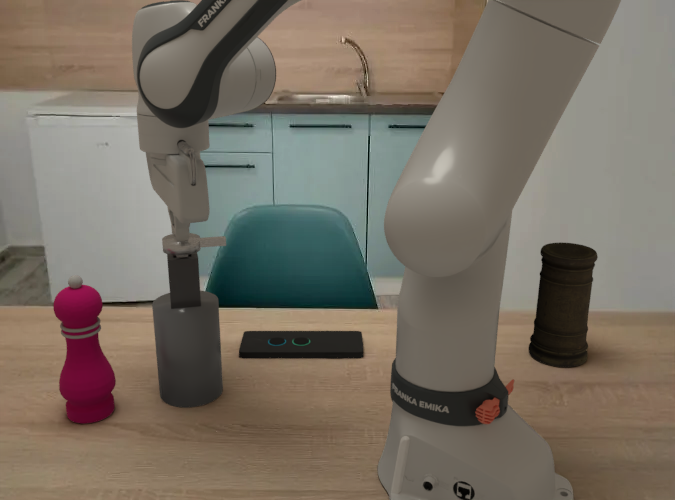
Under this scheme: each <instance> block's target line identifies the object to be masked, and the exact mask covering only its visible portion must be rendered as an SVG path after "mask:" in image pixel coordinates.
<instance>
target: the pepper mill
mask: <svg viewBox="0 0 675 500" xmlns="http://www.w3.org/2000/svg"><path fill="white" fill-rule="evenodd" d="M83 282H84V281H83V278H82V277H81V275H78V274H73V275H70V277H69V278H68V281H67V283H68V286H67V287H64V288H62V289H61V290H60V291H58V293H57V294H56V296H55V297H54V300H53V313H54V315H55V317H56V318H57V319H58V320H59V321H60V324H59V327H60V334H61V336H62V337H64V338H65V342H66V344H65V345H66V356H65V361H64V364H63V365H62V369H61V372H60V376H59V382H58V384H59V385H58V387H59V388H58V390H59V394H60V395H61V396H62V398H63V399H64V400H65V401H66V402H65V411H66V417H67V418H68V419H69V421H71V422H73V423H76V424H92V423H97V422H99V421H103V420H105V419H106V418H108V417H109V416H111V415H112V414H113V413H114V411H115V408H116V403H115V398H114V397H115V396H114V395H113V391H114V389H115V387H116V385H117V380H116V375H115V371H114V369H113V367H112V365H111V363H110V361H109V359H107V357H106V356H105V354H104V352H103V349H102V348H101V344H100V339H99V332H100V331H101V330H102V326H101V319H100V317H99V315H100V314H101V313H102V310H103V306H104V305H103V299H102V296H101V294H100V293H99V291H98V290H97V289H95V287H92V286H91V285H88V284H84V283H83Z"/></svg>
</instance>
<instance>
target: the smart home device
mask: <svg viewBox="0 0 675 500" xmlns="http://www.w3.org/2000/svg"><path fill="white" fill-rule="evenodd" d="M364 350H365V349H364V341H363V332H362V331H361V330H360V331H359V330H246V331H243V333H242V337H241V341H240V344H239V349H238V358H239V359H253V360H254V359H263V360H264V359H273V360H275V359H280V360H281V359H282V360H283V359H286V360H288V359H294V360H295V359H317V360H318V359H324V360H325V359H326V360H327V359H334V360H335V359H339V360H340V359H363V358H364Z"/></svg>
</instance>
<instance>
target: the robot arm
mask: <svg viewBox="0 0 675 500" xmlns="http://www.w3.org/2000/svg"><path fill="white" fill-rule="evenodd" d="M301 1H302V0H201V1H199V3H197V4H196V3H195V2H193V1H189V0H168V1H167V0H166V1H159V2H158V1H157V2H152V3H148V4H147V5H145V6H142V7H141V8H139V10H137V11H136V13H135V16H134V19H133V24H132V30H131V31H132V33H131V53H132V55H131V56H132V70H133V71H132V72H133V79H134V82H135V84H136V88H137V93H138V101H137V104H136V120H137V121H136V122H137V132H138V134H137V135H138V143H139V144H138V145H139V150H140V151H142V152H144V153H145V158H146V163H147V164H146V165H147V169H148V174H149V180H150V183H151V187H152V190H153V191H155V193H156V195H157V196H158V197H159V198H160V199H161V200H162V201H163V202H164V204H165V205H166V206H167V213H168V216H169V221H170V224H171V225H170V226H171V227H170V228H171V234H173V235H174V236H175V238H176V239H177V241H186V240H188V239H189V238H190V233H191V232H190V226H191V224H193V223H194V224H195V223H204V222H207V221H208V220H209V216H210V200H209V198H210V197H209V187H208V177H207V171H206V166H205V163H204V161H203V160H202V158H201V152H203V151H207V150H208V149H209V148H210V129H209V125H210V124H209V120H213V119H218V118H223V117H228V116H232V115H236V114H239V113H244V112H248V111H252V110H254V109H255V108H258V107H261V106H262V105H263V104H265V103H266V102H267V101H268V100H269V99H270V97H271V96H272V93H273V91H274V89H275V86H276V80H277V66H276V61H275V58H274V55H273V53H272V51H271V50H270V48H269V47H268V45H267V44H266V42H264V40H262V39H261V38H260V37H259V36H260V35H261V33H263V32H264V30H266V29H267V28H268V27H269V25H271V23H273V21H274V20H275V19H276V18H277V17H278V16H279V15H281V14H282V13H283V12H284V11H285V10H288V9H289V8H290V7H292V6H293V5H295V4H297V3H299V2H301ZM621 2H622V0H488V1H487V2H486V5H485V7H484V8H483V11H482V13H481V16H480V18H479V19H478V22H477V24H476V26H475V29H474V31H473V33H472V35H471V38H470V39H469V42H468V44H467V46H466V48H465V50H464V52H463V54H462V56H461V59H460V62H459V64H458V66H457V68H456V70H455V72H454V74H453V76H452V78H451V80H450V83H449V84H448V85H447V88H446V90H445V91H444V93H443V95H442V96H441V99H440V100H439V101H438V104H437V105H436V107H435V109H434V111H433V113H432V114H431V116H430V118H429V120H428V122H427V124H426V126H425V127H424V130H423V131H422V132H421V135H420V137H419V139H418V140H417V142H416V144H415V147H414V148H413V150H412V152H411V154H410V156H409V158H408V160H407V161H406V164H405V166H404V168H403V169H402V172H401V174H400V176H399V178H398V179H397V181H396V184H395V186H394V188H393V189H392V192H391V193H390V196H389V198H388V202H387V205H386V208H385V213H384V218H383V232H384V236H385V240H386V244H387V246H388V247H389V249H390V251H391V253H392V254H393V256H394V257H395V259H397V261H399V263H400V264H402V265H403V266H404V271H403V277H402V280H401V285H400V286H401V287H400V291H399V292H398V293H399V294H398V297H397V298H398V299H397V309H396V310H397V311H396V313H397V314H396V336H395V337H396V338H395V339H396V340H395V341H396V342H395V358H394V359H393V361H392V363H391V372H390V389H389V392H390V393H389V394H390V400H391V401H392V404H391V405H392V406H391V413H390V420H389V421H390V422H389V426H388V432H387V436H386V440H385V444H384V447H383V451H382V454H381V456H380V458H379V461H378V464H377V474H378V478H379V481H380V483H381V485H382V486H383V487H384V489H385V490H386V492H387V494H388V497H389V500H574V490H573V487H572V484H571V482H570V481H569V479H567V478H566V477H564V476H562V475H560V474H559V473H556V472H555V471H556V469H555V460H554V455H553V451H552V449H551V446H550V444H549V443H548V441H547V440H546V439H545V438H543V437H542V436H541V435H540V434H539V433H538V432H537V431H536V430H535V429H534V428H533V427H532V426H531V425H530V424H529V423H528V422H527V421H526V420H525V419H524V418H523V417H522V416H520V415H519V413H518V412H517V411H516V410H515V409H513V407H511V405H510V404H509V395H510V394H511V393H512V392H513V391H514V388H515V386H514V383H515V379H511V380H510V381H509V382H508V383H507V384H506V385H505V384H504V383H503V382H502V380H501V378H500V376H499V373H498V371H497V369H496V367H495V366H496V365H495V364H496V363H495V362H496V352H497V342H498V341H497V340H498V333H499V332H498V331H499V317H500V316H499V315H500V308H501V307H500V306H501V301H502V294H503V286H504V279H505V270H506V265H507V259H508V257H507V256H508V250H509V241H510V235H511V233H510V232H511V225H512V217H513V210H514V207H515V206H516V204H517V202H518V200H519V198H520V196H521V195H522V192H523V190H524V188H525V186H526V184H527V182H528V181H529V179H530V177H531V175H532V173H533V171H534V169H535V168H536V166H537V164H538V162H539V160H540V158H541V156H542V154H543V152H544V151H545V148H546V146H547V145H548V143H549V141H550V140H551V137H552V135H553V133H554V131H555V130H556V127H557V125H558V123H559V122H560V120H561V119H562V117H563V115H564V112H565V111H566V109H567V107H568V105H569V104H570V102H571V99H572V97H573V96H574V93H575V92H576V90H577V89H578V86H579V85H580V83H581V81H582V79H583V77H584V76H585V73H586V71H587V70H588V69H589V66H590V64H591V62H592V60H593V58H595V55H596V53H597V52H598V49H599V47H600V45H599V44H602V43H603V42H602V41H603V40H604V38H605V36H606V34H607V32H608V30H609V29H610V26H611V24H612V22H613V20H614V17H615V15H616V13H617V11H618V9H619V6H620V4H621Z"/></svg>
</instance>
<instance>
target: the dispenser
mask: <svg viewBox="0 0 675 500" xmlns="http://www.w3.org/2000/svg"><path fill="white" fill-rule="evenodd" d="M166 257H167V270H168V274H167V275H168V282H169V283H168V284H169V292H167V293H164V294H162V295H160V296H158V297H157V298H155V299H154V300H153V302H152V304H151V307H152V309H151V310H152V317H153V318H152V319H153V321H152V322H153V329H154V332H153V333H154V343H155V354H156V365H157V366H156V367H157V377H158V388H159V389H158V390H159V398H160V400H161V401H162V402H163V403H165V404H167V405H168V406H171V407H175V408H183V409H184V408H195V407H196V408H197V407H202V406H205V405H207V404H208V405H209V404H210V403H212V402H214V401H215V400H216V401H217V399H218V398H219V397H220V396H221V395H222V393H223V391H224V386H223V383H224V382H223V367H222V366H223V365H222V363H223V362H222V346H221V345H222V343H221V328H220V326H221V325H220V324H221V323H220V310H219V309H220V307H219V305H220V304H219V298H218V296H217V295H216V294H215V293H213V292H209V291H205V290H201V282H200V269H199V268H200V266H199V263H200V262H199V255H198V252H196V253H194V254H189V255H188V257H179V258H176V255H168V254H166Z"/></svg>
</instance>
